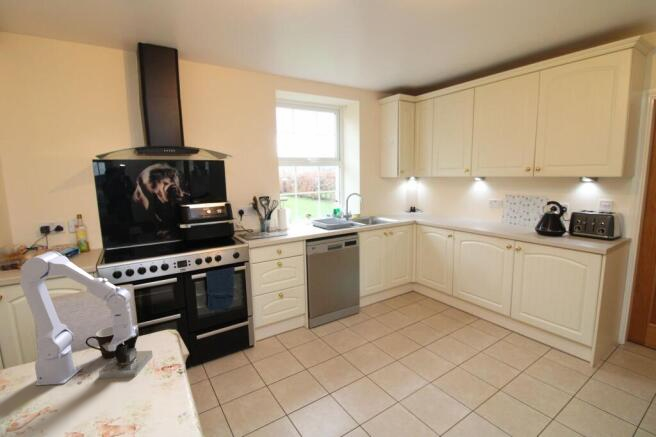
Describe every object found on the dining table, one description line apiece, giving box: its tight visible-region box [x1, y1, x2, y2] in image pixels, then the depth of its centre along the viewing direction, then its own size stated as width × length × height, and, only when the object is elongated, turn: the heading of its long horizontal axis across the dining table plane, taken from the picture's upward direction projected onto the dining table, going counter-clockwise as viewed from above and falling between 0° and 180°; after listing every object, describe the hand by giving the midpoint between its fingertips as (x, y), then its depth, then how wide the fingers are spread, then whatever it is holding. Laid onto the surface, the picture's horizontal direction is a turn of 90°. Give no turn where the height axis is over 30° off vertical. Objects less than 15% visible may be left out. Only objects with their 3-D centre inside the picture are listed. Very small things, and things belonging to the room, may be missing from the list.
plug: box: [116, 347, 138, 364], centre depth 112 cm, size 4×4×6 cm
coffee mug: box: [85, 325, 124, 361], centre depth 120 cm, size 12×9×10 cm
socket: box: [98, 350, 154, 380], centre depth 112 cm, size 12×12×3 cm
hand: (126, 358), depth 112 cm, fingers closed on plug, 4 cm apart
